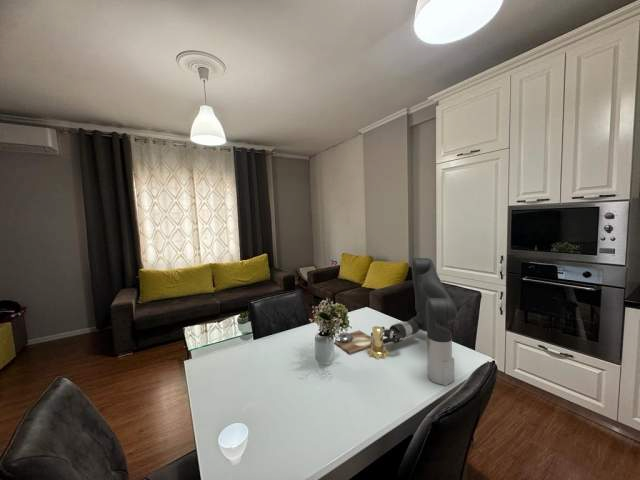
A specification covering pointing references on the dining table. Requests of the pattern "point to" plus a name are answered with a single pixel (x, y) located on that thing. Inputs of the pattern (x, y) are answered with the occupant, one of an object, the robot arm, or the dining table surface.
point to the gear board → (356, 343)
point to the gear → (345, 338)
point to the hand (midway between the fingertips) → (377, 338)
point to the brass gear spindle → (378, 344)
